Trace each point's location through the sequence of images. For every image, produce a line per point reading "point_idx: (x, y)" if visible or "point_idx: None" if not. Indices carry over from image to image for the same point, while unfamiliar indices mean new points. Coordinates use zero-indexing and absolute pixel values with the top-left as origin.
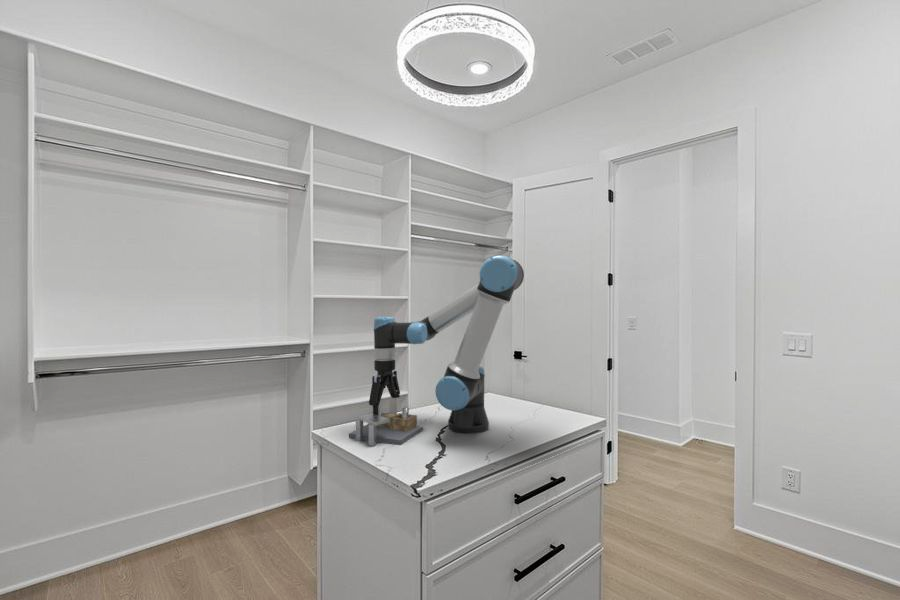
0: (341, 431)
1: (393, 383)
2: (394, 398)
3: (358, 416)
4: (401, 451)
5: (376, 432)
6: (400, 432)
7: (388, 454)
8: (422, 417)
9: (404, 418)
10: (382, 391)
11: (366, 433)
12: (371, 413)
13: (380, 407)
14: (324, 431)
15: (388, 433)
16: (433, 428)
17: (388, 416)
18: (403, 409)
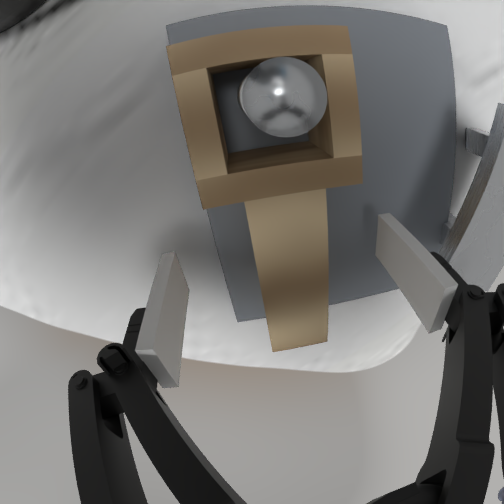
0: (361, 335)
1: (131, 497)
2: (159, 357)
3: (487, 289)
4: (468, 11)
5: (405, 193)
6: (356, 72)
7: (499, 48)
8: (8, 217)
9: (325, 71)
10: (470, 400)
11: (427, 223)
12: (309, 339)
13: (439, 277)
14: (373, 361)
15: (399, 126)
16: (96, 27)
17: (326, 223)
18: (324, 99)
